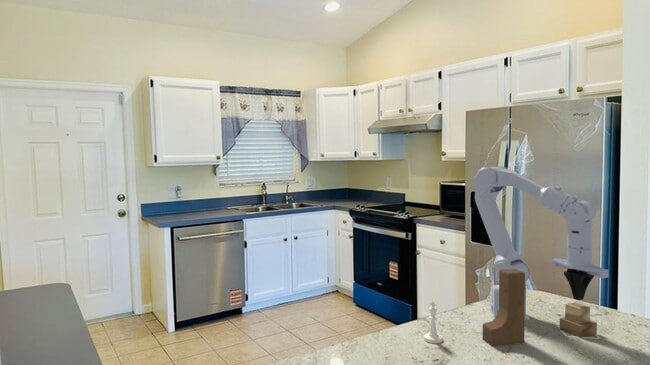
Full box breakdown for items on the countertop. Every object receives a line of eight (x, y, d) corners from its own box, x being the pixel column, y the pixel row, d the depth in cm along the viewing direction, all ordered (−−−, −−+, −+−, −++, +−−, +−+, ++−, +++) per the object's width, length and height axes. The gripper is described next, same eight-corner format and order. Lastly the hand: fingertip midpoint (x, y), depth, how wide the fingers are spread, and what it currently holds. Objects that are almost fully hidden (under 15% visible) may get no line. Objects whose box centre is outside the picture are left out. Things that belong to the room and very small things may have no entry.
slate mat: (541, 341, 112) (541, 339, 112) (530, 325, 123) (530, 323, 123) (607, 345, 109) (608, 343, 109) (590, 328, 120) (590, 326, 119)
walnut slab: (579, 337, 113) (580, 325, 112) (559, 329, 118) (559, 318, 118) (596, 333, 115) (596, 322, 115) (575, 325, 120) (575, 314, 120)
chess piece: (430, 334, 117) (430, 296, 117) (446, 339, 114) (446, 300, 113) (419, 339, 114) (419, 301, 113) (436, 345, 110) (436, 305, 110)
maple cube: (578, 324, 114) (579, 308, 113) (565, 319, 117) (565, 304, 117) (589, 321, 115) (590, 306, 115) (576, 316, 119) (576, 302, 119)
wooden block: (491, 348, 108) (492, 274, 107) (481, 340, 113) (482, 270, 112) (524, 344, 110) (525, 272, 109) (513, 337, 114) (514, 268, 113)
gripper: (544, 243, 120) (543, 293, 121) (594, 254, 107) (593, 309, 108) (563, 241, 123) (562, 290, 124) (614, 251, 110) (613, 305, 110)
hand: (578, 299), depth 116 cm, fingers closed
